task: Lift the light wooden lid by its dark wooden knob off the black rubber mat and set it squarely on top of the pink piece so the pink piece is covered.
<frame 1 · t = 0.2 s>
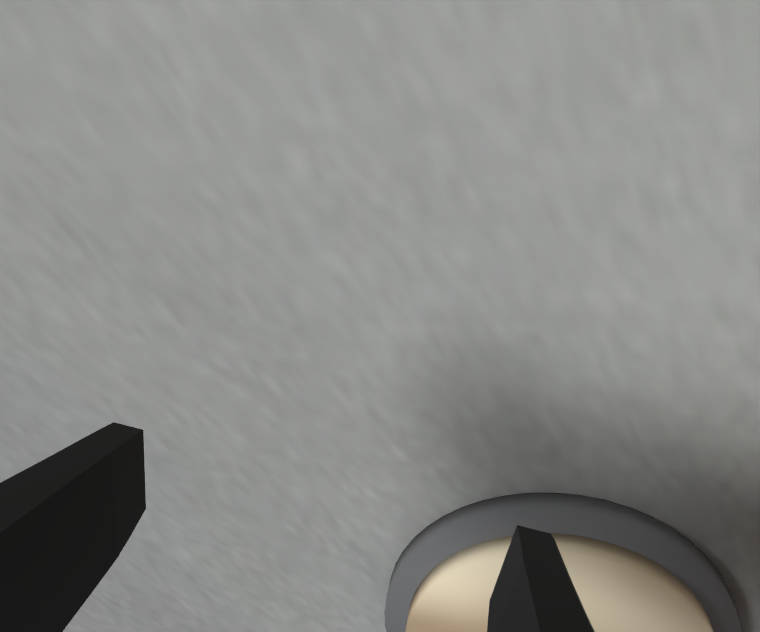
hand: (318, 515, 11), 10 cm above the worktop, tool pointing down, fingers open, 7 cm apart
mat: (551, 621, 25), on the worktop
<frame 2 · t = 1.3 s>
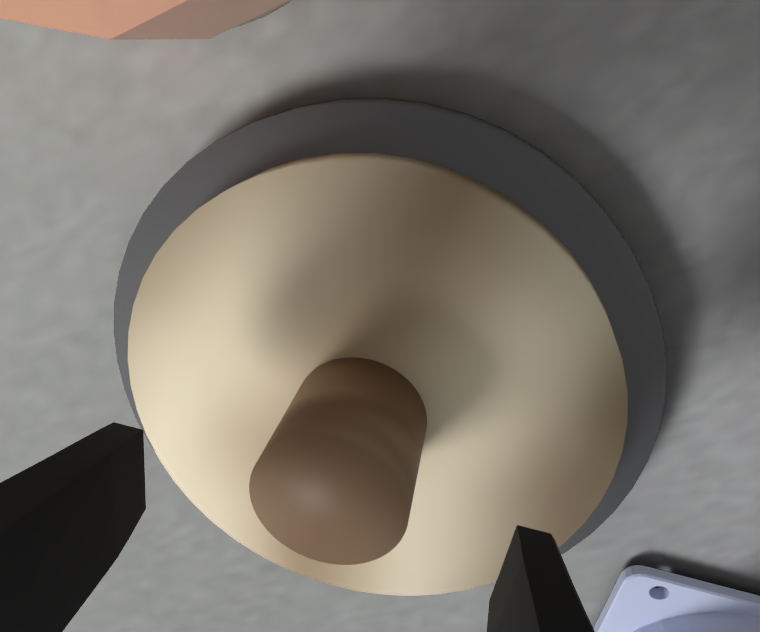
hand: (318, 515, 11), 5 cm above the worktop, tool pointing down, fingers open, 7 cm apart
lid: (368, 393, 15), point 1 cm above the worktop, touching mat
mat: (376, 373, 16), on the worktop
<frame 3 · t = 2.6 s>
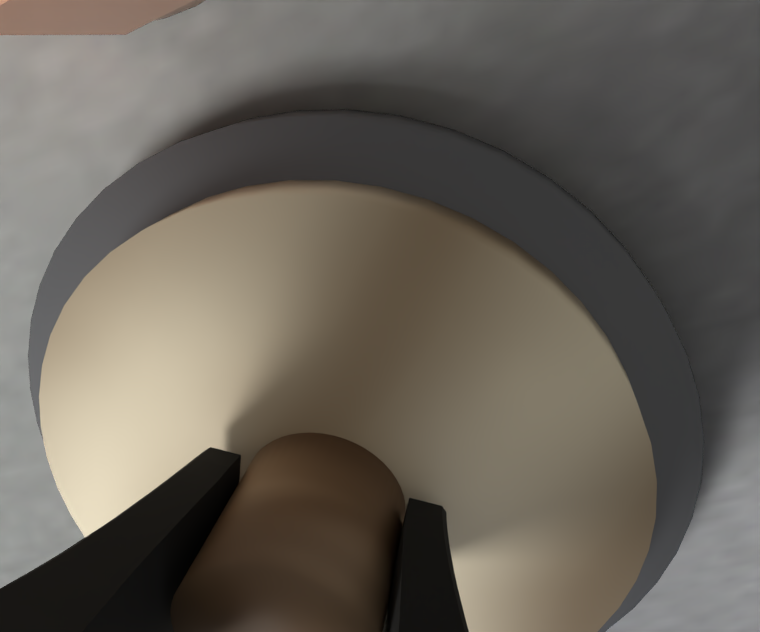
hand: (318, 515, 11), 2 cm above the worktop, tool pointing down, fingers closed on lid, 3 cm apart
lid: (336, 466, 12), point 1 cm above the worktop, touching gripper, mat
mat: (347, 437, 13), on the worktop
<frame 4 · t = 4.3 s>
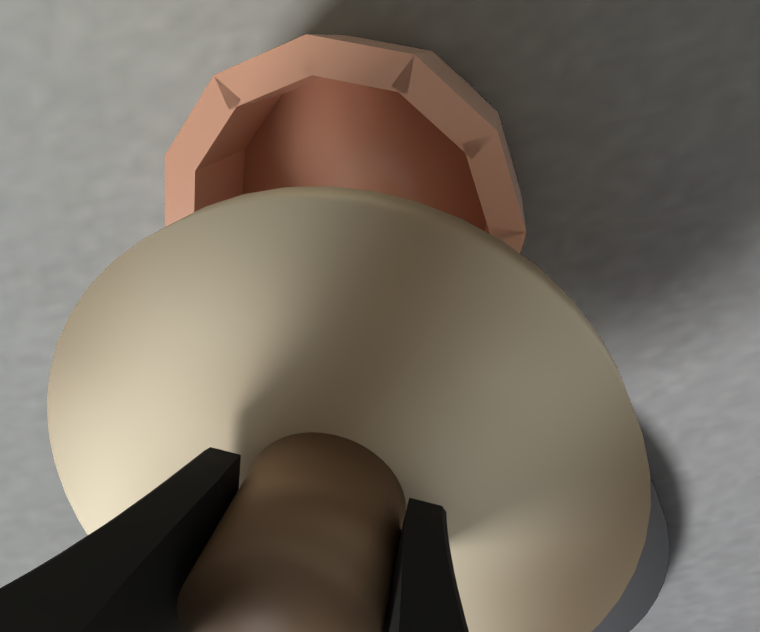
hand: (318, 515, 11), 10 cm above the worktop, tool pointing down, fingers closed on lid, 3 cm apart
pink piece: (366, 200, 18), on the worktop
lid: (338, 467, 13), point 8 cm above the worktop, touching gripper
mat: (469, 529, 23), on the worktop
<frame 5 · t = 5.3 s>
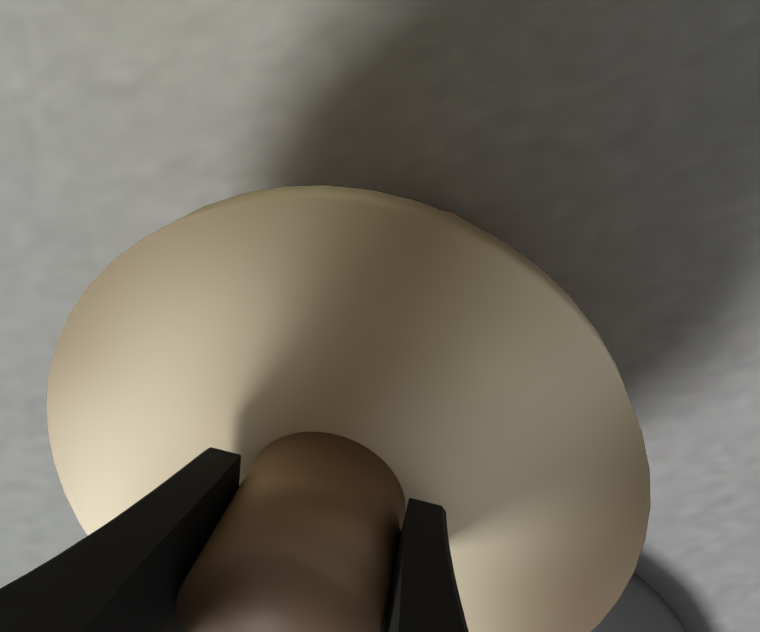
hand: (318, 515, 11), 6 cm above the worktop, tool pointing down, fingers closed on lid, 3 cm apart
lid: (337, 466, 13), point 5 cm above the worktop, touching gripper
when the fingers open (6 cm above the worktop, at t = 5.9 s): lid stays where it is, resting on pink piece.
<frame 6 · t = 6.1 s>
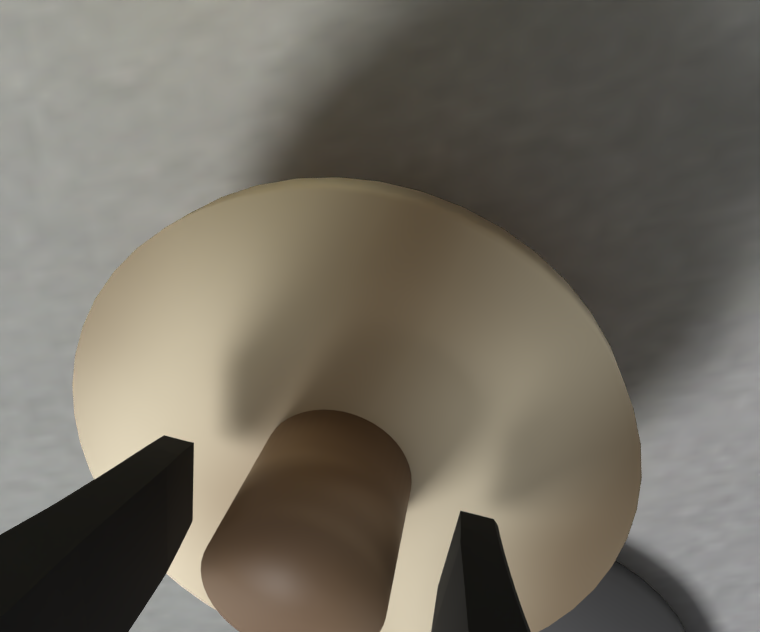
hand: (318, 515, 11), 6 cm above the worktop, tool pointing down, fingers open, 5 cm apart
lid: (347, 443, 13), point 4 cm above the worktop, touching pink piece
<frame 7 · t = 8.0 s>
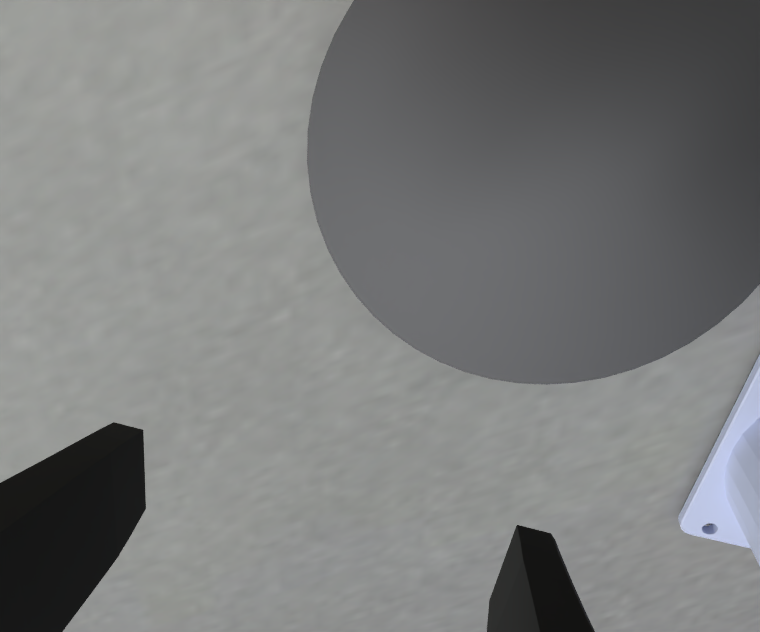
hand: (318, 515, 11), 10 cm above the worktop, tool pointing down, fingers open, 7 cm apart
mat: (543, 166, 18), on the worktop
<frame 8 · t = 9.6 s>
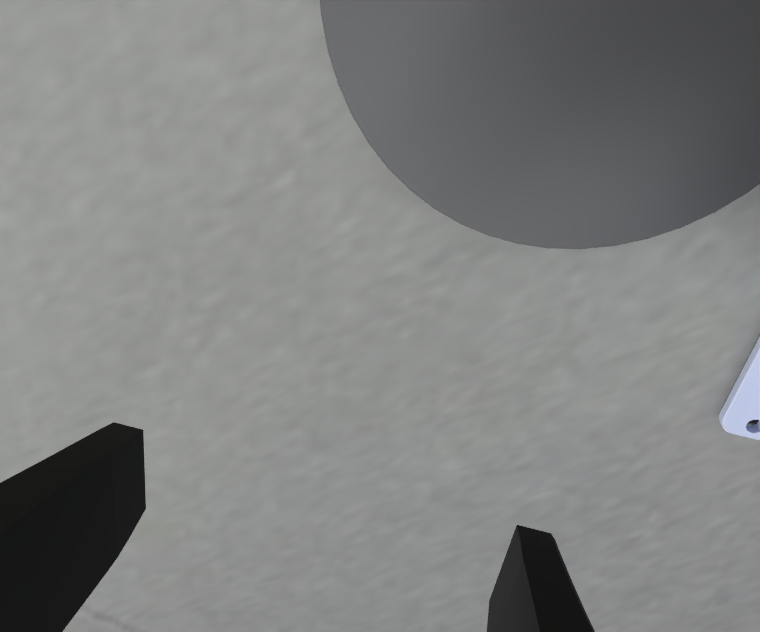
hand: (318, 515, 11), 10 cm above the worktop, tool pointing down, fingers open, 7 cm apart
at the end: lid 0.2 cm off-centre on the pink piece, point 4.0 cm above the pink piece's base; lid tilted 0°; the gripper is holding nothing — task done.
